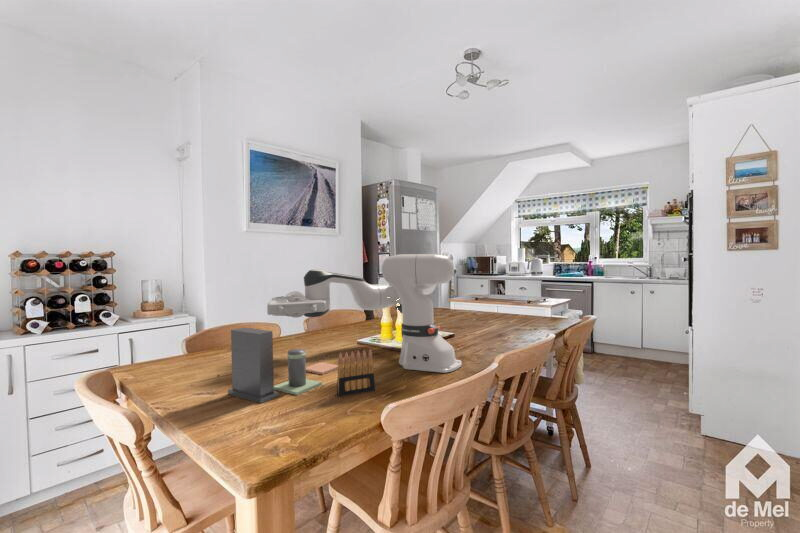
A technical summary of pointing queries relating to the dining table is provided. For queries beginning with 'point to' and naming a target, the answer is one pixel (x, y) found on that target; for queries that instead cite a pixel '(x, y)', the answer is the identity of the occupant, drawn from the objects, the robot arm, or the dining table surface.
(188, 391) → the dining table surface
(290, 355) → the cartridge
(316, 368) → the terracotta pad
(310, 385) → the sage green pad
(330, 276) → the robot arm
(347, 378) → the ammunition clip
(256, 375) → the block
